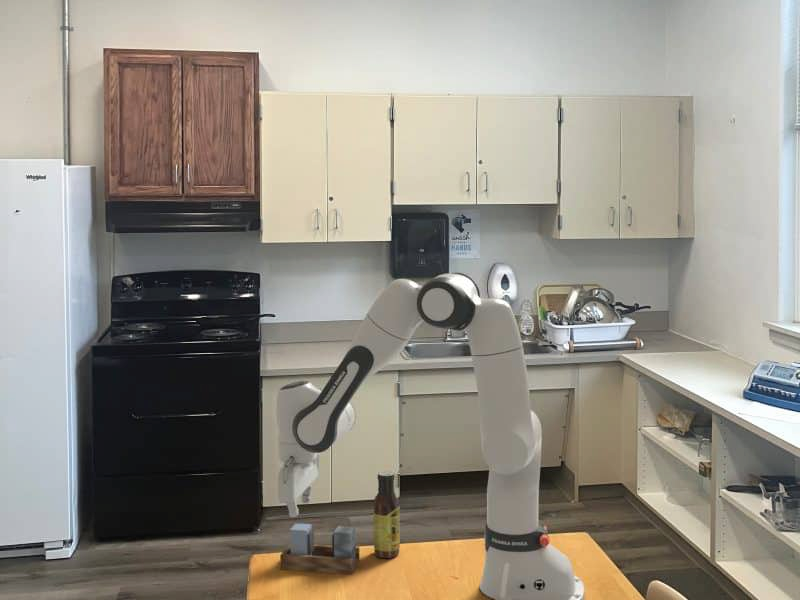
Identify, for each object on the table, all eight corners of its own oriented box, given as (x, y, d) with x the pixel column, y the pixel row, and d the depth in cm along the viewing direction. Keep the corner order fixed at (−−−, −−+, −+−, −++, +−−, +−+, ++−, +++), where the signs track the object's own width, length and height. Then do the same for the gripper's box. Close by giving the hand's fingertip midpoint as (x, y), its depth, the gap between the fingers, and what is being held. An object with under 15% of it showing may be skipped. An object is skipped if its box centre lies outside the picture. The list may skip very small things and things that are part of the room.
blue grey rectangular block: (314, 557, 207) (314, 524, 206) (309, 563, 203) (309, 530, 202) (296, 555, 208) (295, 523, 207) (290, 562, 204) (290, 529, 203)
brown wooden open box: (359, 561, 207) (358, 524, 206) (351, 574, 199) (351, 536, 198) (290, 556, 210) (289, 520, 209) (280, 569, 202) (279, 531, 201)
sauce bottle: (396, 560, 207) (395, 478, 205) (371, 558, 208) (369, 477, 206) (402, 549, 213) (401, 470, 211) (377, 547, 214) (376, 469, 212)
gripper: (296, 464, 192) (299, 525, 193) (322, 439, 212) (325, 495, 213) (269, 464, 193) (272, 524, 194) (297, 439, 213) (300, 494, 214)
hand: (300, 509), depth 204 cm, fingers open, 8 cm apart
